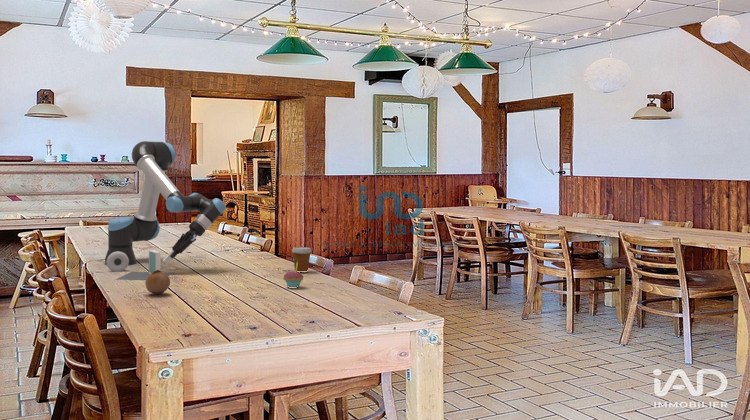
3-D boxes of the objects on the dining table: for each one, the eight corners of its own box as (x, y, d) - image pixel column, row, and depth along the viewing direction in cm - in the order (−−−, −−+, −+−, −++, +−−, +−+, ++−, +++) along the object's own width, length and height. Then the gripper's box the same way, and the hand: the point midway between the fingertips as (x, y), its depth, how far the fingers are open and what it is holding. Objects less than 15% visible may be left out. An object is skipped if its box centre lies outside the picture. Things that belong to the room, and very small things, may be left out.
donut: (128, 271, 331) (128, 250, 330) (129, 272, 328) (129, 251, 327) (106, 272, 327) (106, 251, 326) (106, 273, 324) (106, 252, 323)
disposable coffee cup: (288, 272, 338) (288, 248, 337) (297, 270, 346) (297, 246, 346) (305, 274, 334) (305, 249, 333) (314, 271, 343) (314, 247, 342)
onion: (156, 297, 270) (156, 272, 269) (140, 295, 275) (140, 270, 274) (175, 294, 278) (175, 269, 277) (159, 291, 283) (159, 267, 282)
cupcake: (306, 287, 301) (306, 259, 300) (297, 290, 293) (298, 262, 292) (288, 285, 304) (288, 258, 303) (279, 288, 296) (280, 260, 295)
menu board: (153, 273, 323) (153, 249, 323) (160, 276, 315) (160, 252, 315) (148, 273, 322) (148, 250, 321) (156, 276, 314) (156, 252, 313)
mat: (131, 272, 327) (131, 271, 326) (174, 273, 327) (174, 272, 327) (115, 280, 305) (115, 279, 305) (161, 281, 305) (161, 280, 305)
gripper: (189, 219, 334) (155, 255, 325) (199, 221, 323) (164, 258, 314) (199, 229, 337) (166, 265, 328) (210, 232, 327) (175, 269, 318)
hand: (165, 262), depth 321 cm, fingers closed
